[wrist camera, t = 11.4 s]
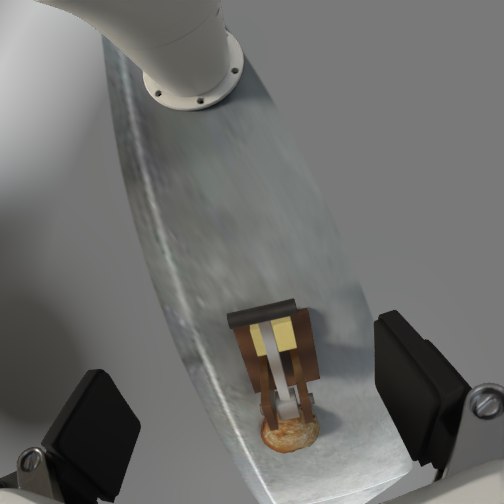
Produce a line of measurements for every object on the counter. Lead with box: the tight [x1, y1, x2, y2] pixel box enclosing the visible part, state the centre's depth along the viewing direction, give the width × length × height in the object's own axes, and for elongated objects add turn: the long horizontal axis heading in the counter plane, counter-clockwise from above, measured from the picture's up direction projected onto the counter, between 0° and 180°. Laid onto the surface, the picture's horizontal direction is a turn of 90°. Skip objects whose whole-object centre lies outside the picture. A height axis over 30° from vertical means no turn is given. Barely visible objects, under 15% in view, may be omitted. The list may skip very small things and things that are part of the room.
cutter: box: [234, 308, 320, 431], centre depth 33 cm, size 12×10×13 cm
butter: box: [250, 316, 297, 356], centre depth 35 cm, size 4×5×3 cm
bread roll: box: [261, 406, 320, 453], centre depth 41 cm, size 10×10×8 cm
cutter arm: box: [227, 298, 300, 421], centre depth 27 cm, size 15×6×2 cm, turn 14°
